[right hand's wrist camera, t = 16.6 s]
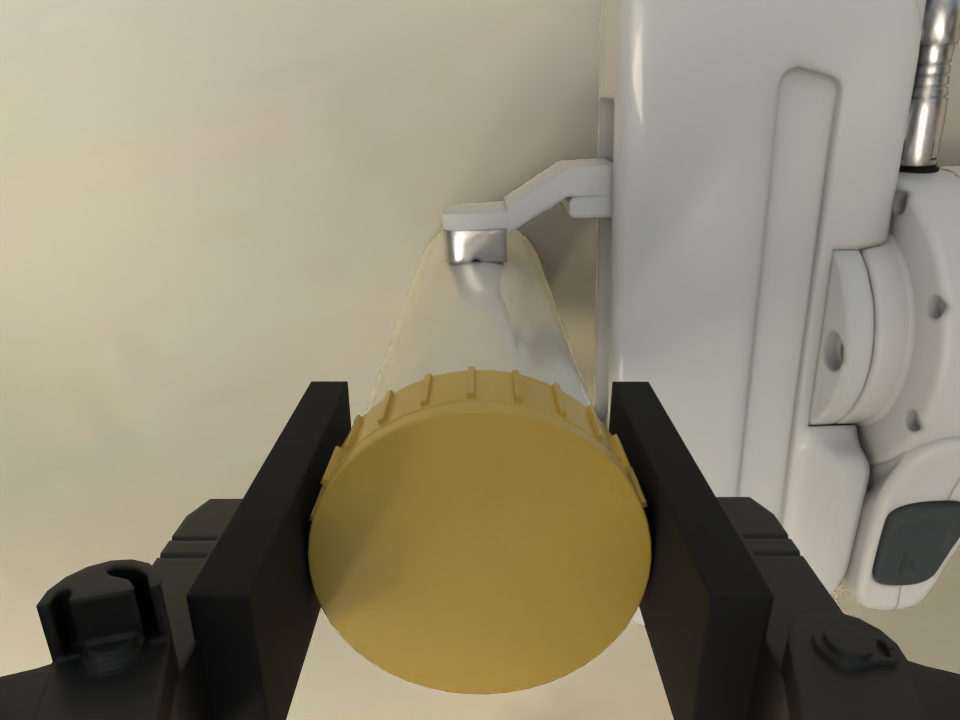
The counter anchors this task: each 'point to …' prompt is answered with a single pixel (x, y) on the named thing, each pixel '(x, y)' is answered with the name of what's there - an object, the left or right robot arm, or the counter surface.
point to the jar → (480, 322)
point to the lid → (479, 534)
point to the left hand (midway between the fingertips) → (451, 338)
